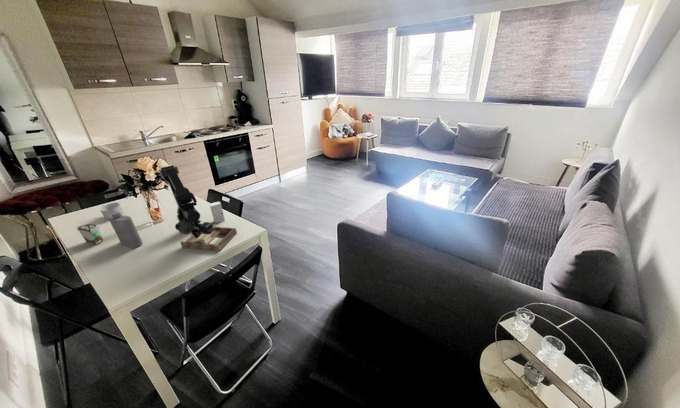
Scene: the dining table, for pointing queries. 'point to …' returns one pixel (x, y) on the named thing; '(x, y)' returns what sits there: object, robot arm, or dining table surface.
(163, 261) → the dining table surface
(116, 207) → the teacup
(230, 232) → the box
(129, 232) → the flask
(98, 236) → the food container
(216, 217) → the skincare box
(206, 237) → the birch block
